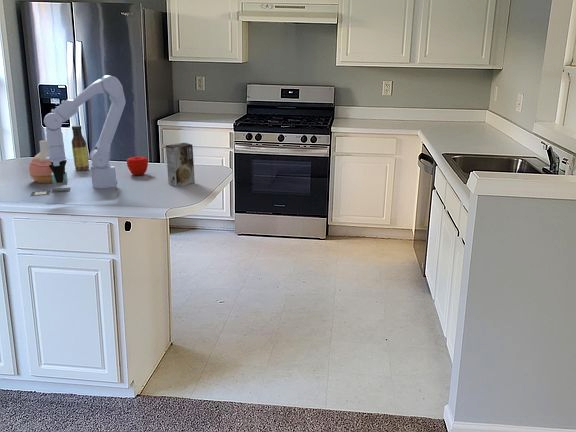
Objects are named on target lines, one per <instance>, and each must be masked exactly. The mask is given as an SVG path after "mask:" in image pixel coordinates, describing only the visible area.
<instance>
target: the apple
mask: <svg viewBox="0 0 576 432" xmlns="http://www.w3.org/2000/svg"><path fill="white" fill-rule="evenodd" d="M126 164H127V165H126V166H127V168H128V170H129V172H130V174H131V175H132V176H142V175H145V173H146V172H147V169H148V166H149V165H148V164H149V160H148V158H147V157H145V156H132V157H129V158H126Z"/></svg>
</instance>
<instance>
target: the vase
mask: <svg viewBox="0 0 576 432" xmlns="http://www.w3.org/2000/svg"><path fill="white" fill-rule="evenodd" d="M47 157H49V153H48V145H47V139H46V140H39V152H38V153H37V154H35V155H34V157H33V158H32V159H31V160H30V162H29V164H28V172H29V173H28V174H29V176H30V178H31V179H32V180H33V181H34V182H35V183H38V184H53V182H52V170H51V169H50V167H49V165H51V162H52V161H50V160H46V158H47ZM64 171H66V169H65V170H64Z"/></svg>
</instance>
